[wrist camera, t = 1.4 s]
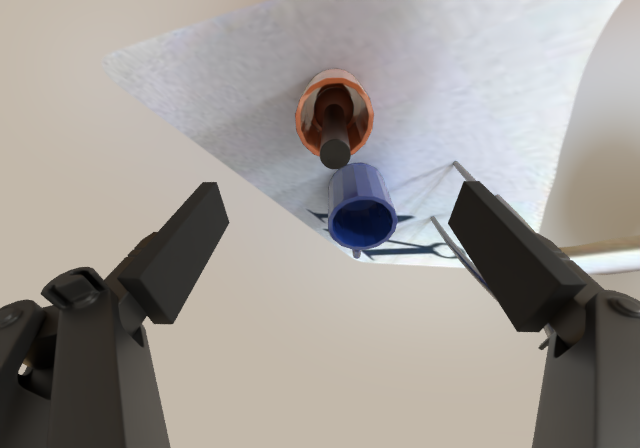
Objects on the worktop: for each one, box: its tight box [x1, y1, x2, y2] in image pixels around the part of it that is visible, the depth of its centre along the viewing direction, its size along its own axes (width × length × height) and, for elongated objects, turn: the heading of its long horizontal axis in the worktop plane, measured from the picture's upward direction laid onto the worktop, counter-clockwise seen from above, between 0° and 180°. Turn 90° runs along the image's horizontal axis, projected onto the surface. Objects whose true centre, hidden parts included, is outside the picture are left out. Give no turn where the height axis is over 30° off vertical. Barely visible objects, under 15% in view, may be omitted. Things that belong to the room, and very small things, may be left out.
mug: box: [328, 163, 397, 258], centre depth 38 cm, size 13×9×10 cm
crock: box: [295, 69, 374, 157], centre depth 29 cm, size 8×8×9 cm
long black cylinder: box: [314, 87, 354, 169], centre depth 25 cm, size 5×5×17 cm
